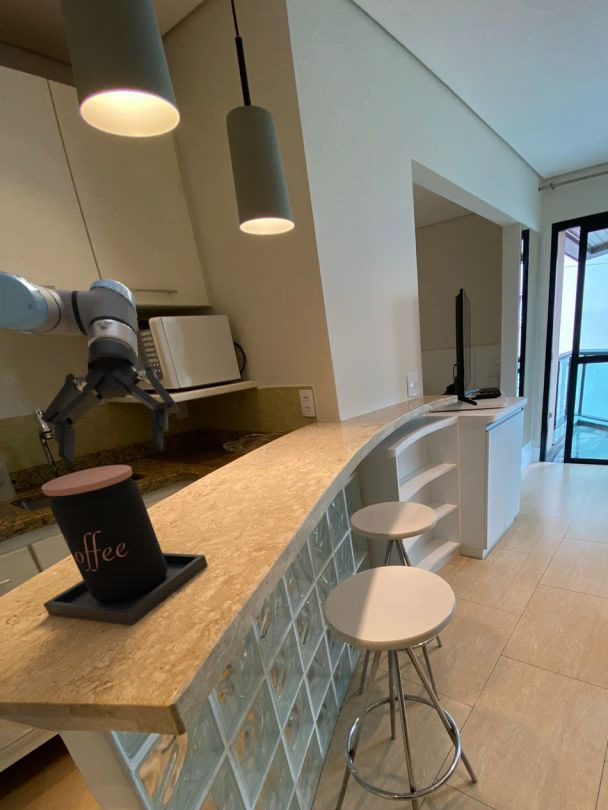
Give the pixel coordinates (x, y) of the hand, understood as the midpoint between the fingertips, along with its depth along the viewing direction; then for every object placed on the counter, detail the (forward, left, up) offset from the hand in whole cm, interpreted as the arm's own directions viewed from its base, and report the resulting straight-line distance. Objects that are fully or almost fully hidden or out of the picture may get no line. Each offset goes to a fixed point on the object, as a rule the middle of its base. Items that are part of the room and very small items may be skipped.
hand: (113, 453), depth 66 cm
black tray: (+5, -9, -19) cm, 22 cm away
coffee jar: (+5, -9, -19) cm, 22 cm away
